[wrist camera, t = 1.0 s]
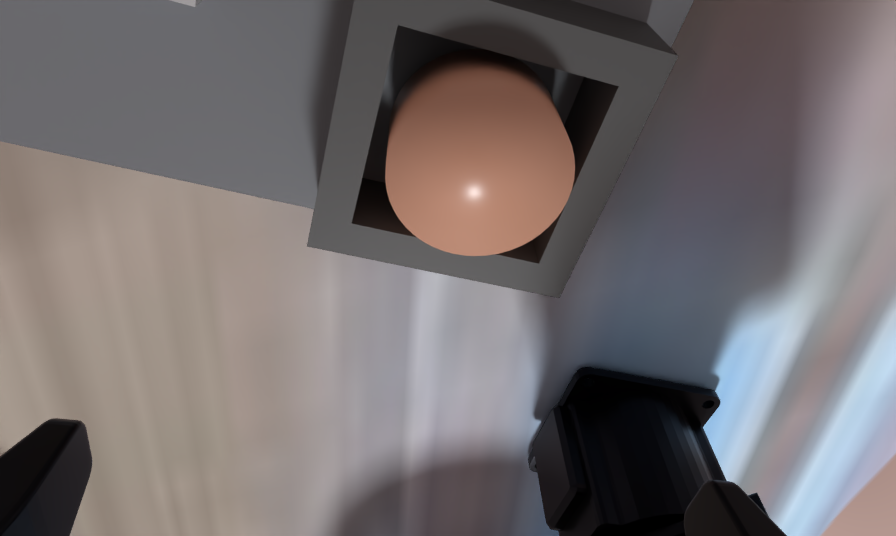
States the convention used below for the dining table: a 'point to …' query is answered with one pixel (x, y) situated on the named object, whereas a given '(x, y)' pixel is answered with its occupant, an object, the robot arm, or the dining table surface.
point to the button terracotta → (477, 154)
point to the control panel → (327, 101)
